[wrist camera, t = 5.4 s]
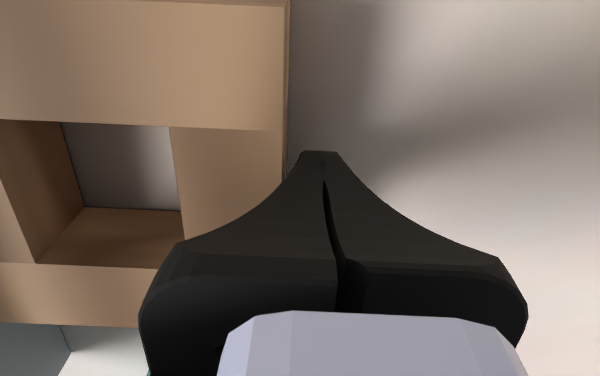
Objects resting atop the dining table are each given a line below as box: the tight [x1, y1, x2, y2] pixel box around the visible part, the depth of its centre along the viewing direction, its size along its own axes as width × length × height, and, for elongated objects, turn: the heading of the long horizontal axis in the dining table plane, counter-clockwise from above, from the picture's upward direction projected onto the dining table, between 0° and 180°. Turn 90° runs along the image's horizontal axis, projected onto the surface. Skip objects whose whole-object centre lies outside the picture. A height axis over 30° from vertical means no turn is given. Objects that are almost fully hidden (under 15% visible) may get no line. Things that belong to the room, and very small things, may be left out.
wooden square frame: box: [0, 0, 290, 328], centre depth 12 cm, size 10×10×3 cm
